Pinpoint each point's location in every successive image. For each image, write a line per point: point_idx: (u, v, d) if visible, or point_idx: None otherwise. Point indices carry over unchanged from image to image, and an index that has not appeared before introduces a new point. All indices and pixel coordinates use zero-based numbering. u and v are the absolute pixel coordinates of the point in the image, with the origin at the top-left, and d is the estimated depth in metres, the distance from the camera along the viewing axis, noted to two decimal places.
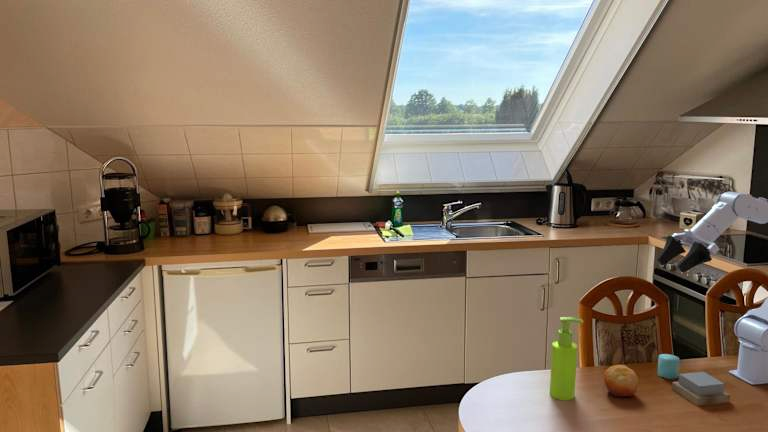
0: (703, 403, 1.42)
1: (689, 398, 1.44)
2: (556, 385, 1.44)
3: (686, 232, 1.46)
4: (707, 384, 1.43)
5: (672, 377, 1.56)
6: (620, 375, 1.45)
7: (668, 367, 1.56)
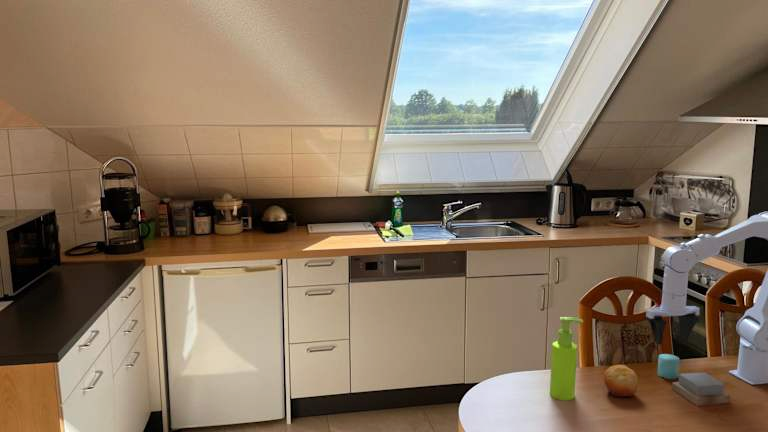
0: (703, 403, 1.42)
1: (689, 398, 1.44)
2: (556, 385, 1.44)
3: None
4: (707, 385, 1.43)
5: (672, 377, 1.56)
6: (620, 375, 1.45)
7: (668, 367, 1.56)
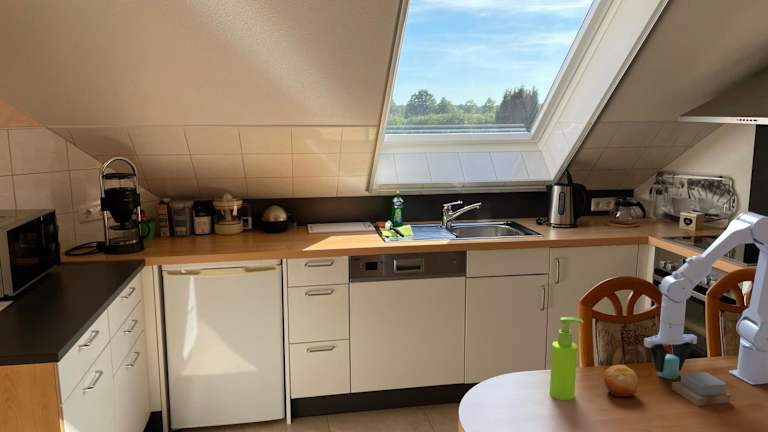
0: (703, 403, 1.42)
1: (689, 398, 1.44)
2: (556, 385, 1.44)
3: None
4: (709, 385, 1.43)
5: (672, 377, 1.56)
6: (620, 375, 1.45)
7: (668, 367, 1.56)
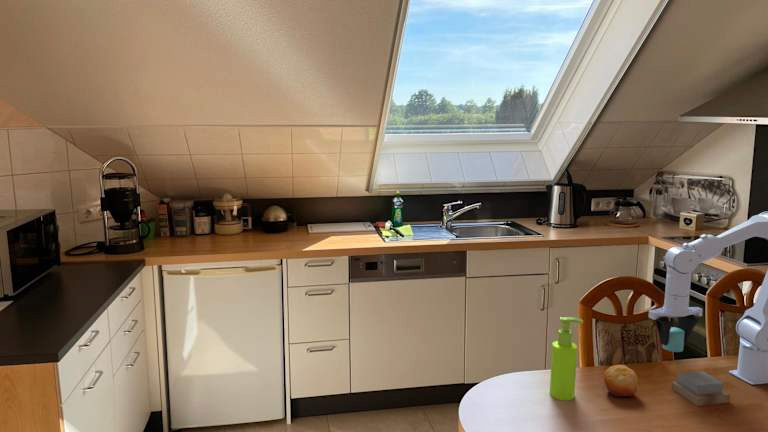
0: (703, 403, 1.42)
1: (689, 398, 1.44)
2: (556, 385, 1.44)
3: None
4: (706, 384, 1.43)
5: (677, 350, 1.54)
6: (620, 375, 1.45)
7: (673, 340, 1.53)
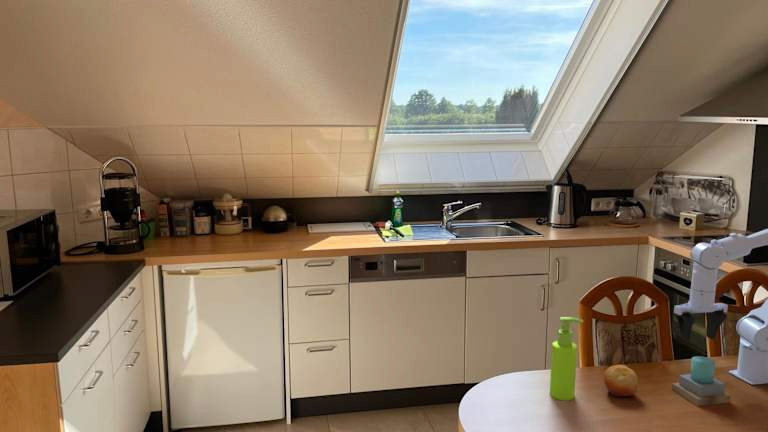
0: (703, 404, 1.42)
1: (689, 399, 1.44)
2: (556, 385, 1.44)
3: None
4: (709, 385, 1.43)
5: (708, 381, 1.43)
6: (620, 375, 1.45)
7: (703, 370, 1.43)
